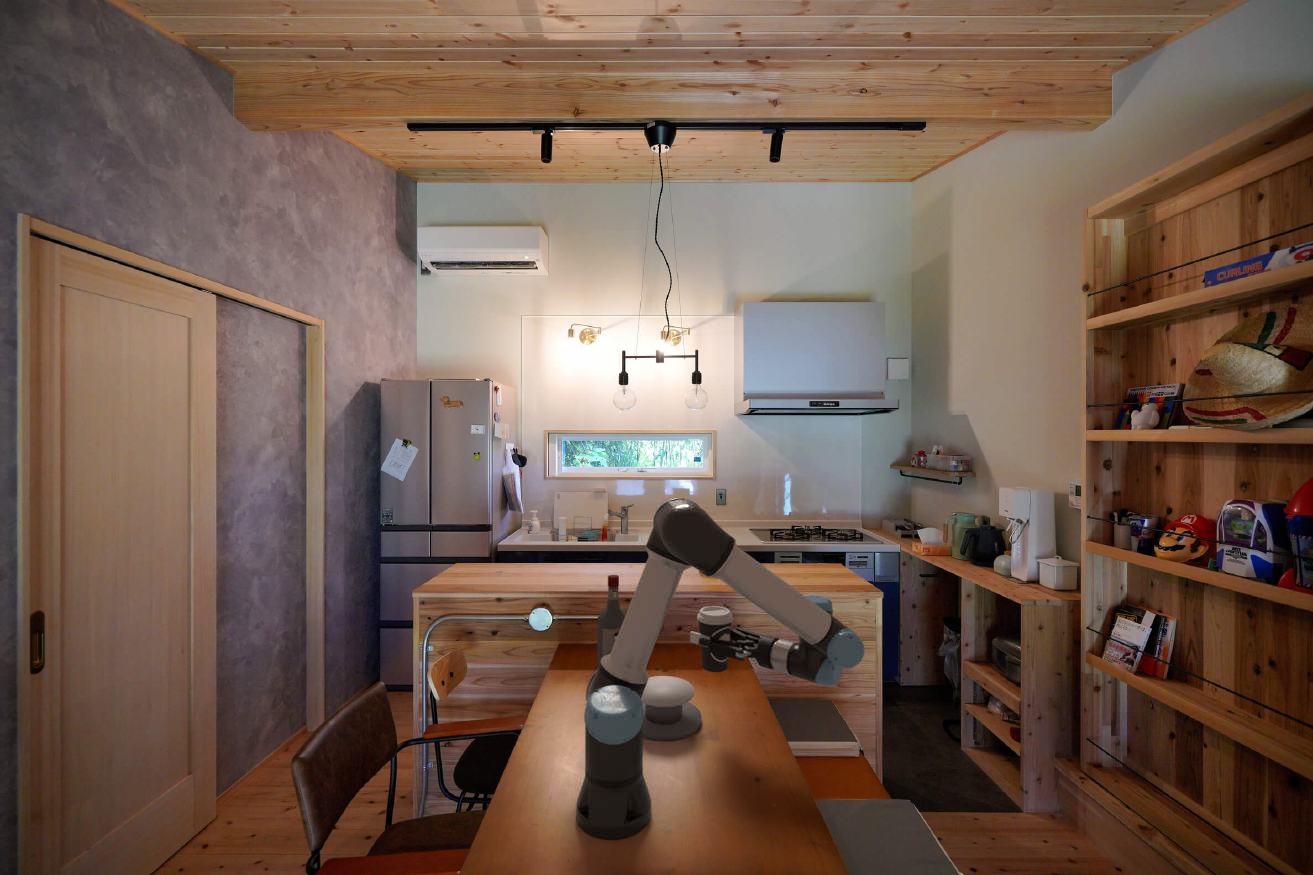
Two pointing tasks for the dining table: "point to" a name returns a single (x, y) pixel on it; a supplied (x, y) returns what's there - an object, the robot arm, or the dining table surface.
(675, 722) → the cup stand
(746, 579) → the robot arm
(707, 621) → the coffee cup
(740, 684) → the dining table surface
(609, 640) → the liquor
